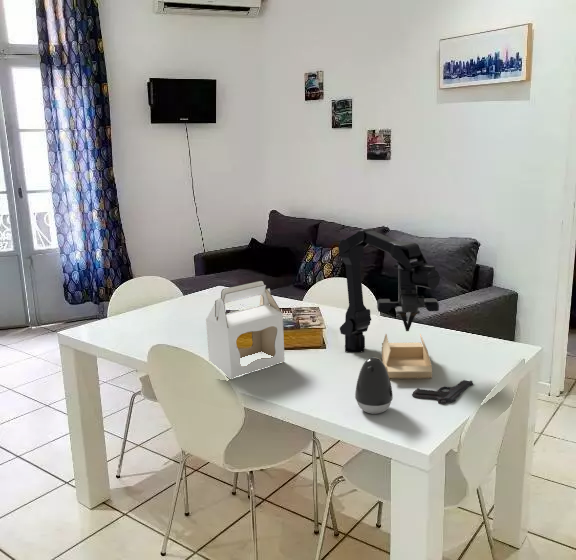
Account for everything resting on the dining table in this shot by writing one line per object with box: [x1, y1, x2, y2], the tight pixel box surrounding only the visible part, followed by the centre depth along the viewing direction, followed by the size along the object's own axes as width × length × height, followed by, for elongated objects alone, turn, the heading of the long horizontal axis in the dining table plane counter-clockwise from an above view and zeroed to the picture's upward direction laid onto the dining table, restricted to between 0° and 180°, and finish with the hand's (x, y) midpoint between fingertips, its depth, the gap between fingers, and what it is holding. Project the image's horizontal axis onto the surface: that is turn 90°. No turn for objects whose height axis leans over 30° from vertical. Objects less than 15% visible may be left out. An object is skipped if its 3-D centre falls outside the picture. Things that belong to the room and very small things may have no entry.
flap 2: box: [419, 333, 432, 365], centre depth 197 cm, size 1×17×4 cm, turn 174°
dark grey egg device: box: [354, 356, 394, 415], centre depth 168 cm, size 10×10×15 cm
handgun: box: [411, 379, 474, 405], centre depth 181 cm, size 18×2×12 cm
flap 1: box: [381, 333, 391, 364], centre depth 198 cm, size 1×17×4 cm, turn 175°
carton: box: [381, 342, 433, 380], centre depth 199 cm, size 14×26×4 cm, turn 176°
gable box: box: [205, 280, 286, 380], centre depth 203 cm, size 22×13×28 cm, turn 129°
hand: (407, 330), depth 196 cm, fingers closed
